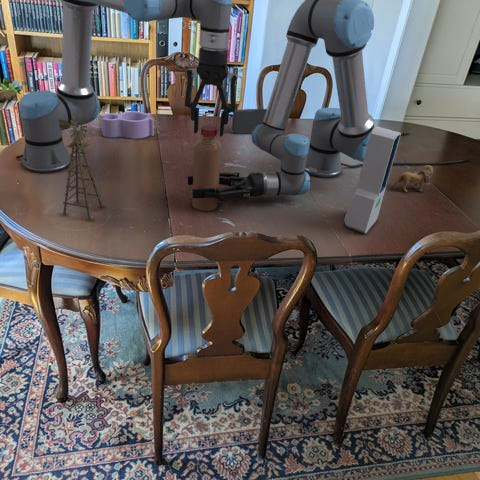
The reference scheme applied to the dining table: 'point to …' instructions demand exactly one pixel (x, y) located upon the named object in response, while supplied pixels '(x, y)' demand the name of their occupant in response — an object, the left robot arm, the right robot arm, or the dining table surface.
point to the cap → (209, 131)
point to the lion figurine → (415, 178)
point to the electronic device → (372, 179)
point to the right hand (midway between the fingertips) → (190, 187)
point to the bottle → (206, 170)
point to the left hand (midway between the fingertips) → (208, 133)
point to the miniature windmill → (73, 145)
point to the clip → (127, 125)
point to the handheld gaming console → (247, 120)
